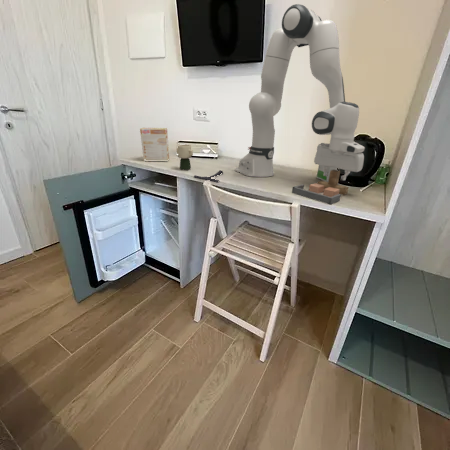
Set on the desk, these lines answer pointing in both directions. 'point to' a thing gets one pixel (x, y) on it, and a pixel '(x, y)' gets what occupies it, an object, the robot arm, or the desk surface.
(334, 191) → the tile right
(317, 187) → the tile left
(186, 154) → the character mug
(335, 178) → the wooden toy blocks
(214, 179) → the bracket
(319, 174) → the skincare box
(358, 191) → the desk surface
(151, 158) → the coffeecake box
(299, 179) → the desk surface
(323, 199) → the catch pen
